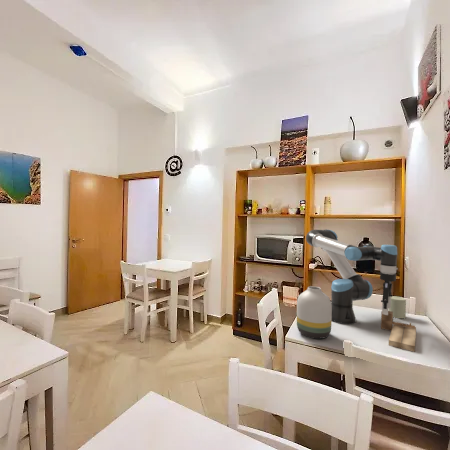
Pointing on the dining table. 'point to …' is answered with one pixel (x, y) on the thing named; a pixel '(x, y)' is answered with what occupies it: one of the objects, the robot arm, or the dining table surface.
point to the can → (398, 307)
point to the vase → (314, 313)
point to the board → (403, 337)
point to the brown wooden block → (391, 322)
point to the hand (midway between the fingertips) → (386, 311)
